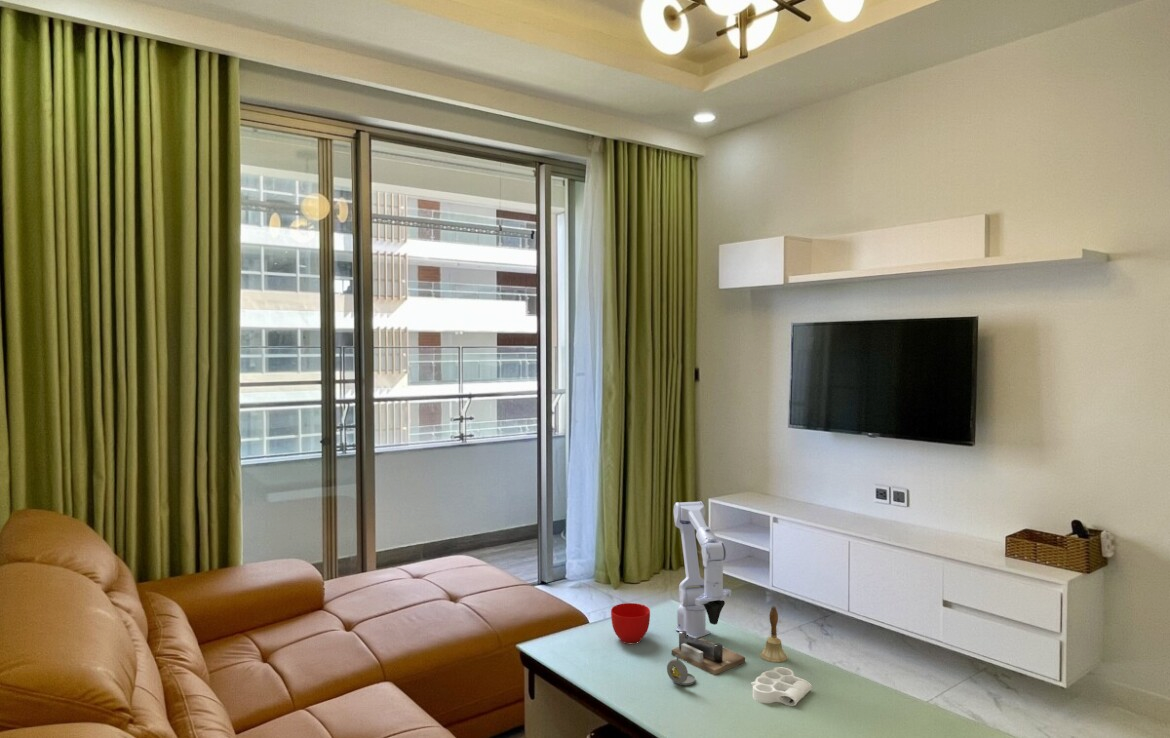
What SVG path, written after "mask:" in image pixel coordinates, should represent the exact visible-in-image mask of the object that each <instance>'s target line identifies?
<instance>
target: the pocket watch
mask: <svg viewBox="0 0 1170 738" xmlns="http://www.w3.org/2000/svg"><path fill="white" fill-rule="evenodd" d="M674 653H675V652H673V654H674ZM676 653H678V652H676ZM678 654H679V655H680V653H678ZM678 654H677V655H675V654H674V655H675V656H674V655H673V656H674V657H675V658H673V659H671V660H669V661H668V663H667V665H666V671H667V675H668V677H669V679H671V681H672V682H674V684H677V685H680V686H689V685H692V684H694V683H695V682H696V677H695V675H693V674H692V673H689V671H688V669H687V666H686V664H685V663H684V662H683V661H681V660H680V658H679V657H681V655H680V656H678Z"/></svg>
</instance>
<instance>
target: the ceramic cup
mask: <svg viewBox="0 0 1170 738" xmlns="http://www.w3.org/2000/svg"><path fill="white" fill-rule="evenodd" d="M610 617H611V626H612V629H613V632H614V633H615V635H616V636H617V638H619V640H620V641H621V642H622V643H624V642H625V643H624V644H627V643H635V644H637V642H638V643H640V642H641V640H642V639H644V637H645V636H646V634H647V632H648V630H649V627H650V626H649V625H650V620H651V619H650V618H651V609H650V608H649V607H648V606H646V605H645V604H640V603H633V602H627V603H626V602H624V603H619V604H616V605H614V606H612V608H610ZM639 641H640V642H639Z"/></svg>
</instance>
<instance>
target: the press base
mask: <svg viewBox="0 0 1170 738" xmlns="http://www.w3.org/2000/svg"><path fill="white" fill-rule="evenodd" d="M698 640H702V641H705V642H708V643H711V644H715V643H714V642H712V641H709V640H707V639H705V638H702V637H700V638H698ZM673 652H675V653H674V654H675V655H677V654H678V653H680V655H681V657H679V658H678V659H680V658H681V660H682V659H683V660H682V661H684V662H686V661H687V662H686V663H688V664H690V663H691V665H692V666H695V667H697V668H698V669H701V670H703V671H705V672H707V673H709V674H711V675H713V676H716V675H719V674H721V673H723V672H725V671H728V670H730V669H732V668H734V667H737V666H739V664H740V665H742V664H744V663H746V657H745V656H743V655H742V654H739V653H737V652H734V651H732V650H730V649H728V648H725V647H723V661H722V662H715V661H713V660H710V659H707V658H704V657H703V652H702V651H700V650H698V649H696V648H694V647H691V646H689V645H687V644H685V643H683V644H681V650H680V649H679V646H678V647H675V648H673V649H671V655H672V654H673ZM676 652H678V653H676ZM674 654H673V655H672V656H674ZM680 655H679V654H678V656H680Z"/></svg>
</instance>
